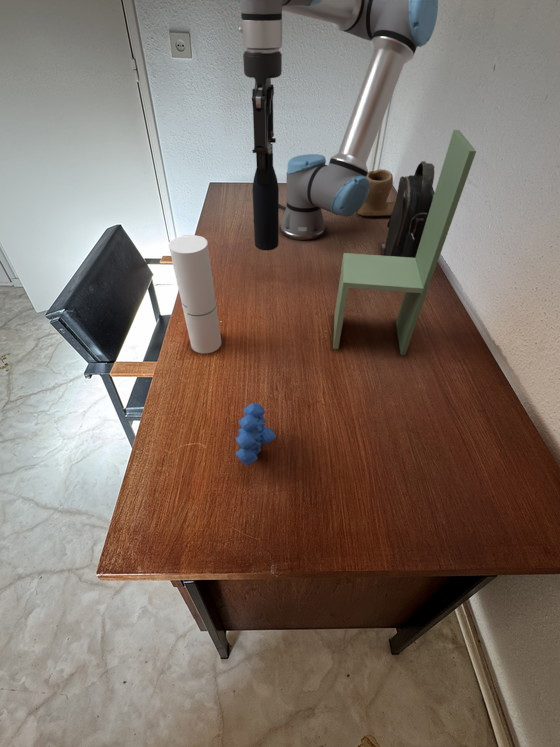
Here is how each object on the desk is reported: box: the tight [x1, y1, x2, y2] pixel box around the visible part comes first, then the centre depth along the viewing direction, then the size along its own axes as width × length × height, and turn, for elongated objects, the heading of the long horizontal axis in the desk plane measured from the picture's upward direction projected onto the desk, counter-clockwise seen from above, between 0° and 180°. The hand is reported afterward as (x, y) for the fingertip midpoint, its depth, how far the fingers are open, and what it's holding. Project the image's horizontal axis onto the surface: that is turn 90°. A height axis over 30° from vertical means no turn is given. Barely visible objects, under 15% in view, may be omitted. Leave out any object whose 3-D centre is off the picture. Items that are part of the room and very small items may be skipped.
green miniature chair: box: [332, 129, 477, 356], centre depth 75 cm, size 12×17×42 cm
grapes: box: [234, 402, 277, 466], centre depth 63 cm, size 12×7×12 cm, turn 171°
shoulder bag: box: [381, 160, 435, 258], centre depth 104 cm, size 23×9×28 cm, turn 172°
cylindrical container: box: [168, 234, 222, 355], centre depth 79 cm, size 7×7×25 cm
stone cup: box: [355, 168, 395, 217], centre depth 133 cm, size 15×12×15 cm
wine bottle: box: [251, 111, 280, 251], centre depth 89 cm, size 6×6×30 cm
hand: (265, 178), depth 88 cm, fingers closed on wine bottle, 5 cm apart
